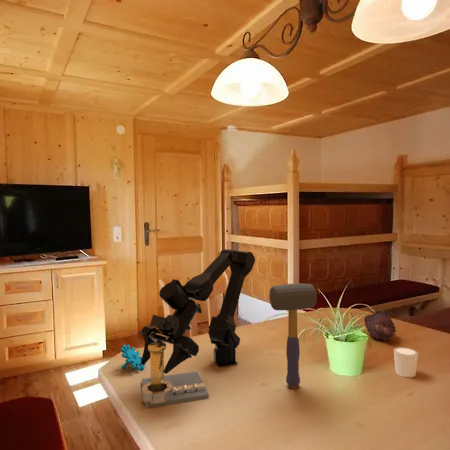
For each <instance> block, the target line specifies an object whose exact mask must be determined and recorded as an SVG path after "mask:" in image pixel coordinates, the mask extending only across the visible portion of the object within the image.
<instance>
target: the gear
mask: <svg viewBox="0 0 450 450" xmlns="http://www.w3.org/2000/svg"><path fill="white" fill-rule="evenodd" d="M120 352H121V358H125V362H124V363H123V365H122V366H121V369H122V370H124V369H125V368H126V367H128V366H129V364H130V367H131V368H132V369H136V370H137V371H140V370H141V371H142V370H144V369H145V365H146V364H147V362H146V363H145V364H144V365H142V364H141V360H142V356H141V350H140V349H138V350H137V351H136V348H135V347H134V346H132V347H131V345H129V344H123V345H122V346H121V348H120Z"/></svg>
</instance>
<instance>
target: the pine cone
mask: <svg viewBox="0 0 450 450" xmlns="http://www.w3.org/2000/svg"><path fill="white" fill-rule="evenodd" d="M363 321H364V326H365V328H366V331H367V333H369V335H370V336H372V338H374V339H377V340H381V341H387V340H389V339H391V338H392V337H395V336H396V335H397V334H396V332H397V330H396V326H395V323H394V321H393V319H392V318H391V317H390V315H387V314H384V313H382V312H375V313H374V312H373V313H372V314H367V315H366V316H365V317H364V319H363Z"/></svg>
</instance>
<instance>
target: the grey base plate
mask: <svg viewBox="0 0 450 450" xmlns="http://www.w3.org/2000/svg"><path fill="white" fill-rule="evenodd" d="M164 381H168V382H171V383H172V386H176V387H179V386H182V385H192V384H193V383H198V384H199V383H204V382H203V380H202V378H201V377H200V374H199V372H198V371H190V372H184V373H183V372H182V373H177V374H176V373H175V374H169V375H164ZM148 382H151V380H150V377H148V378H147V377H146V378H142V379H141V387H142V386H144V385H145V384H147V383H148ZM209 397H210V395H209V392H208V390H207V389H206V390H204V391H195V392H191V393H184V394H178V395H176V394H175V395H173V397H172V398H170V399H169V400H168V401H166V402H163V403H156V404H151V403H148V402H145V401H144V405H145V406H144V407H145V409H148V408H155V407H159V406H160V407H161V406H166V405H173V404H179V403H184V402H190V401H197V400H205V399H209Z"/></svg>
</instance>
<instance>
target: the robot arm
mask: <svg viewBox="0 0 450 450" xmlns="http://www.w3.org/2000/svg"><path fill="white" fill-rule="evenodd" d="M255 263H256V257H255V256H254V253H253V252H251V251H243V250H242V251H241V250H235V249H229V248H227V249H226V248H225V249H222V250H221V251H220V252H219V254H218V256H217V257H216V258H215V259H214V260H213V261H212V262H211V263H210V264H209V266H207V267H206V269H204V271H203V272H202V273H200V274H198V275H196V276H193V277H192V278H191V279H189V280H188V281H187V282H186V283H185V284H183V285H182V283H181V282H180V280H179V279H175V278H173V279H171V281H170V282H168V283H166V284H165V285H164V286H162V287H161V288H160V291H159V297H160V298H161V300H163V302H164V303H165V304H166V305H167V306H168V307H169V308H170V309H171V310H174V311H173V313H172V314H168V315H167V316H166V317H164V316H160V315H156V314H152V316H151V320H150V323H149V325H145V326H143V327H142V329H141V331H140V334H141V336H142V338H143V340H144V348H143V352H142V354H141V355H142V356H141V357H142V360H141V364H142V365H144V364H145V363H146V364H147V362H148V361H149V360H150V351H148V345H149V344H151V343H154V342H163V343H166V344H167V343H168V344H171V345H173V346H172V353H171V355H170V357H169V358H168V360H167V363H166V365H164V375H167V374H169V372H171V371H172V370H174V369H175V368H176V367H177V366H179V365H180V364H181V363H183V362H185V361H186V360H188V359H192V356H193V357H197V355H198V353H199V351H200V347H199V345H198V343H197V342H196V341H195V340H194V339H193V338H191V337H190V336H186V335H185V333H186V331H188V332H190V330H191V326H190V324H191V322H192V320H193V319H194V317H195V315H196V313H197V314H202V312H203V311H202V307H201V304H200V303H197V302H195V301H198V302H199V301H200V302H206V301H207V300H208V299H209V298H210V296H211V294H212V293H213V291H214V286H215V285H214V284H215V283H216V282H217V281H218V279H220V277H221V276H222V275H223V274H224V273H225V272H226V270H227V269H228V268H229V270H230V277H229V280H228V284H227V286H226V290H225V293H224V297H223V300H222V303H221V307H220V309H219V313H218V314H217V315H216V316H214V315H213V316H212V317H211V318H210V324H209V325H208V327H207V328H208V332H207V333H208V337H209V340H210V344H211V345H214V346H215V348H213V361H214V362H215V363H214V364H216V365H217V367H219V368H222V367H230V366H237V365H238V362H237V361H236V359H237V358H236V357H237V356H236V349H237V348H238V346H240V343H241V337H239V335H238V334H237V333H236V330H237V329H236V328H237V327H236V323H235V315H236V314H235V313H236V311H237V306H238V303H239V299H240V296H241V293H242V289H243V286H244V282H245V278H246V277H247V276H248V275H249V274H250V273H251V272H252V271H253V267H254V266H255ZM146 364H145V365H146ZM145 365H144V366H145Z"/></svg>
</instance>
